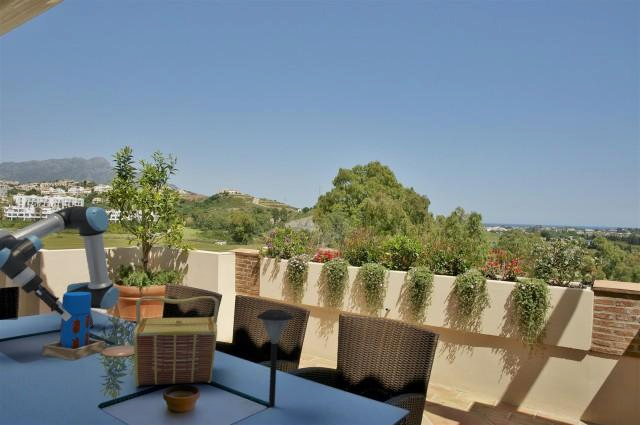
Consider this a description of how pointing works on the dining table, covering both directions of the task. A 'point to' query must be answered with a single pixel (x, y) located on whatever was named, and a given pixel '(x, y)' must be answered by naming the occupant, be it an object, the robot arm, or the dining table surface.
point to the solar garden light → (274, 341)
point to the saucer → (118, 351)
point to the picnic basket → (174, 347)
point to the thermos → (76, 320)
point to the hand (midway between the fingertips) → (68, 315)
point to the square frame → (73, 350)
